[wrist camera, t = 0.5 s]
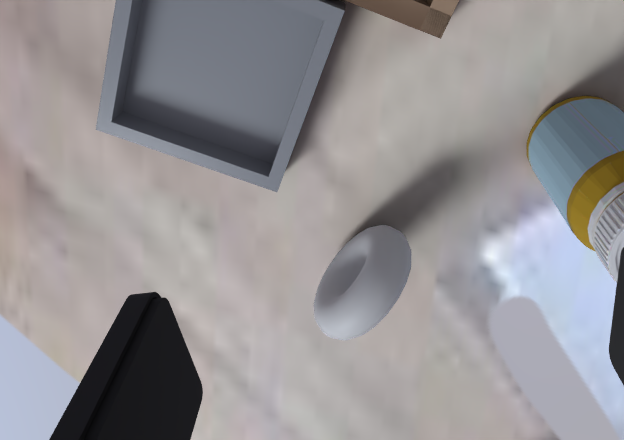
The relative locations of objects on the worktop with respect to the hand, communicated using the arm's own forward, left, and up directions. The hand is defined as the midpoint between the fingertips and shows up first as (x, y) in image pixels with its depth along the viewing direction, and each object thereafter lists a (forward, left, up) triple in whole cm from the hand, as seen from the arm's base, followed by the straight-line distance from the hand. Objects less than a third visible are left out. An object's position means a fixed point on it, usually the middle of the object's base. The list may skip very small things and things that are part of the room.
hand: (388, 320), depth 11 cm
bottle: (+2, +18, -31) cm, 36 cm away
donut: (+17, +7, -31) cm, 36 cm away
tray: (+6, -9, -31) cm, 32 cm away
